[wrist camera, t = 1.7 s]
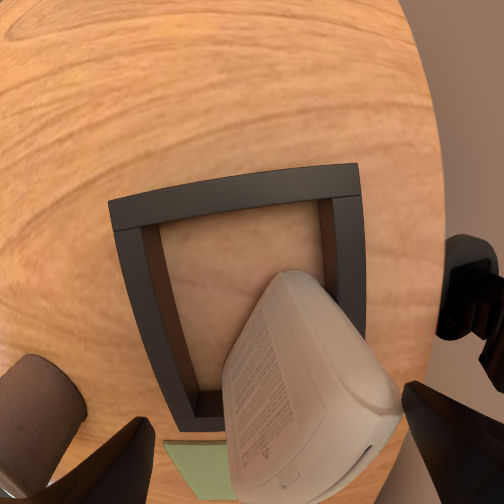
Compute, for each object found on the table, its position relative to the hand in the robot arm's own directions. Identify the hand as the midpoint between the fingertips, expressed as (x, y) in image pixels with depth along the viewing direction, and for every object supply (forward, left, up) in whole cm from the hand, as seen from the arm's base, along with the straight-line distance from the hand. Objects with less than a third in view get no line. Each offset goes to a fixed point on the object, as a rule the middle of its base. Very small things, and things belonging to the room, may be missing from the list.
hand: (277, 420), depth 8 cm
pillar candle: (+24, +9, -11) cm, 28 cm away
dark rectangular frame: (+1, +1, -11) cm, 11 cm away
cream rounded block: (0, +2, -11) cm, 11 cm away
